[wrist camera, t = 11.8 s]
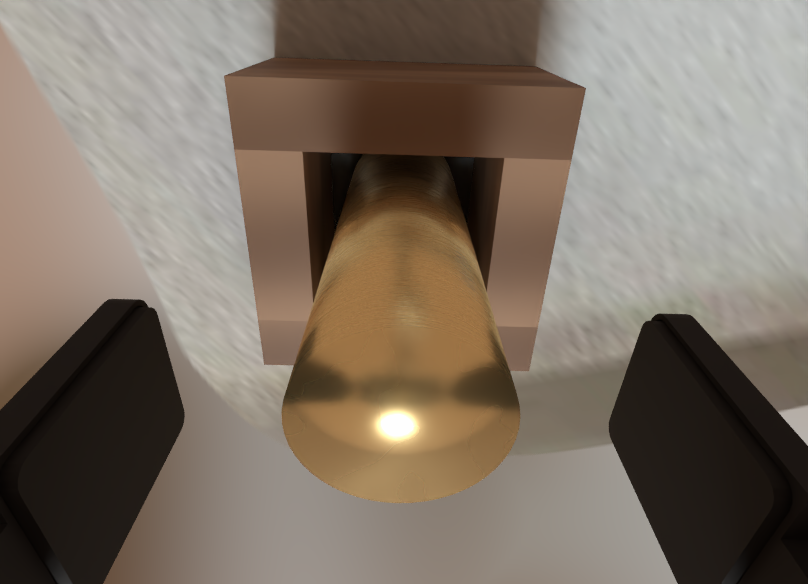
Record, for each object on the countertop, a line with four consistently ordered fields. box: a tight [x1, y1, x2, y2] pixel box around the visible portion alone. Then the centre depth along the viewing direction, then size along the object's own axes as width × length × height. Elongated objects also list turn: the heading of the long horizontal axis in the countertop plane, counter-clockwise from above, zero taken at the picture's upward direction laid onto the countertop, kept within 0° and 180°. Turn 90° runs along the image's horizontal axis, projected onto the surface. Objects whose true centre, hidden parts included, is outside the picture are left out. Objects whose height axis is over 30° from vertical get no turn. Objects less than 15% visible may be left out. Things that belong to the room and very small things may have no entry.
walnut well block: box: [224, 58, 586, 371], centre depth 19 cm, size 10×10×6 cm
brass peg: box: [282, 154, 520, 503], centre depth 15 cm, size 4×4×14 cm
